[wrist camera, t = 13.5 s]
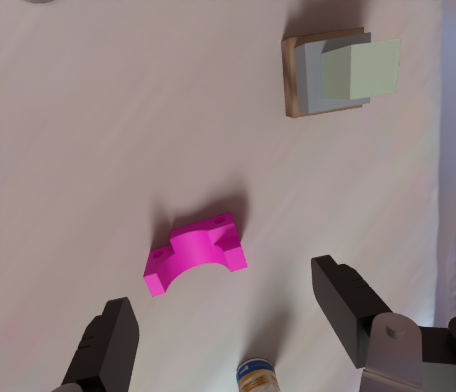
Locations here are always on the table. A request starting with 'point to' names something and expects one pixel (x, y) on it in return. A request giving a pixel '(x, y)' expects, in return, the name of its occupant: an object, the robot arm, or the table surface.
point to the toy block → (194, 251)
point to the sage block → (361, 70)
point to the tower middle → (311, 74)
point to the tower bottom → (289, 67)
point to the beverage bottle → (257, 376)
